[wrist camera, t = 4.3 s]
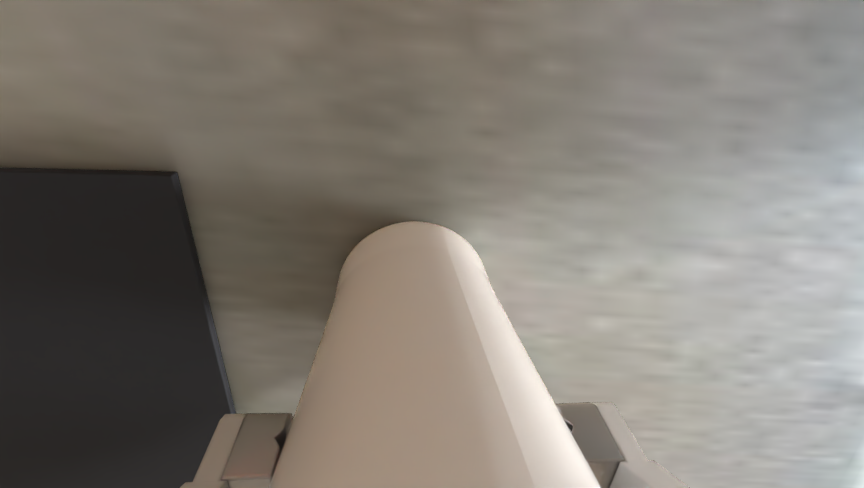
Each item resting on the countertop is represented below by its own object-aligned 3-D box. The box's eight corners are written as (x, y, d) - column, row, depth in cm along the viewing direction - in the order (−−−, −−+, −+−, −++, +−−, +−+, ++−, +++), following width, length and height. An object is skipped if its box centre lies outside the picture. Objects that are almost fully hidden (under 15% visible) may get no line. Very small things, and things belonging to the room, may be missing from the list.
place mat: (-390, 157, 12) (-416, 161, 11) (177, 171, 13) (171, 175, 13) (-44, 544, 21) (-51, 553, 21) (264, 528, 22) (261, 536, 22)
